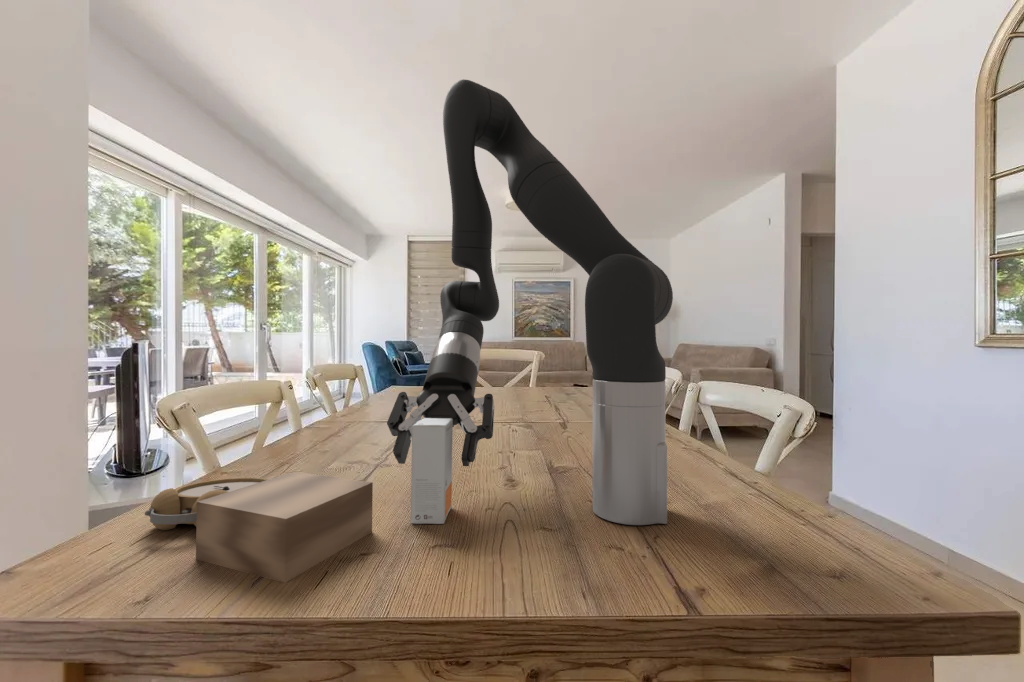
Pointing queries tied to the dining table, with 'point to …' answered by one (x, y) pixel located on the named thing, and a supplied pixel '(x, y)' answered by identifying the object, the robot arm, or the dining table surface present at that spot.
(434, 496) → the skincare box
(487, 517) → the dining table surface
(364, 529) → the walnut block
